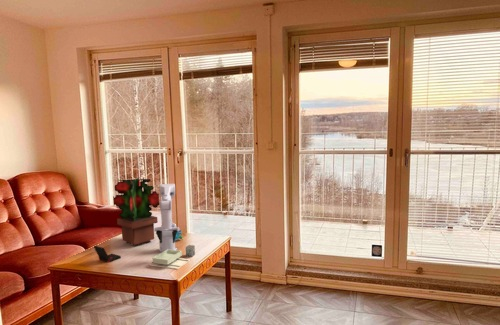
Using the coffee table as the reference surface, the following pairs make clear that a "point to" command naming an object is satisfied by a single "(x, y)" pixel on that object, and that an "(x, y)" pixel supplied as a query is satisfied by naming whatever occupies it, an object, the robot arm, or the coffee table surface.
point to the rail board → (172, 263)
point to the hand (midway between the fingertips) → (167, 242)
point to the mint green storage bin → (167, 256)
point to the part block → (190, 251)
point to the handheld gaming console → (105, 255)
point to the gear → (178, 235)
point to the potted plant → (136, 210)
